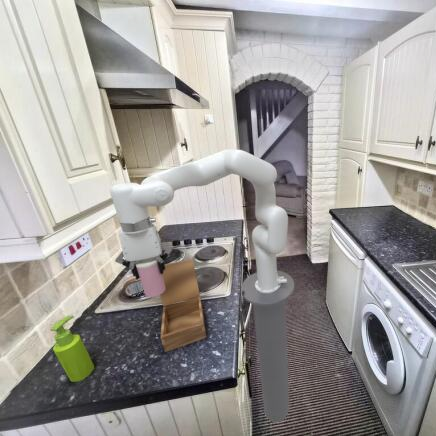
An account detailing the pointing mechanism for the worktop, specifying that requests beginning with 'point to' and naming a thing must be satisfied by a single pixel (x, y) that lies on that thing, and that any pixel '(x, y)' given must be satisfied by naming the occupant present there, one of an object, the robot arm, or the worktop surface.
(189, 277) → the lid
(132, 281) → the tin
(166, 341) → the chest
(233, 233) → the worktop surface
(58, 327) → the soap dispenser
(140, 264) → the tube
